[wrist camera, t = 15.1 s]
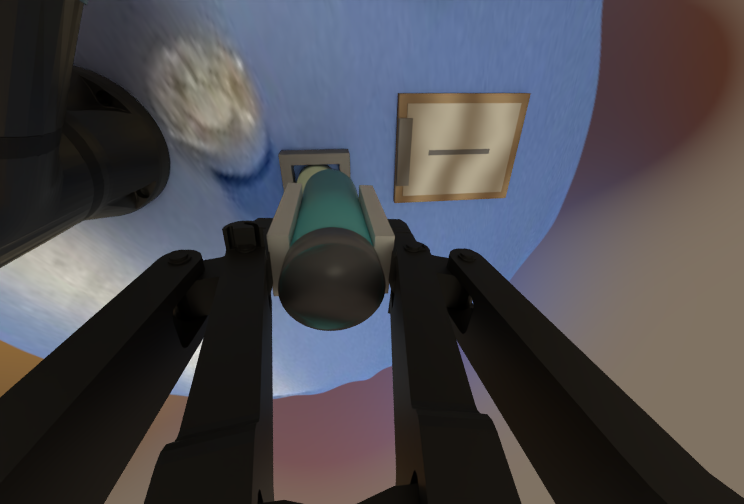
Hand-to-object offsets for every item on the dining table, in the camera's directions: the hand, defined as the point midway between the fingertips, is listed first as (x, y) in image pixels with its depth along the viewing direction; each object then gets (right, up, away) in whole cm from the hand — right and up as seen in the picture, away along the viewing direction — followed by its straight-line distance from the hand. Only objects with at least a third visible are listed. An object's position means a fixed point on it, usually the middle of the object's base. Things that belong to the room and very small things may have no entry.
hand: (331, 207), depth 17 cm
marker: (-1, +2, +5) cm, 5 cm away
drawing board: (+13, +11, +21) cm, 27 cm away
